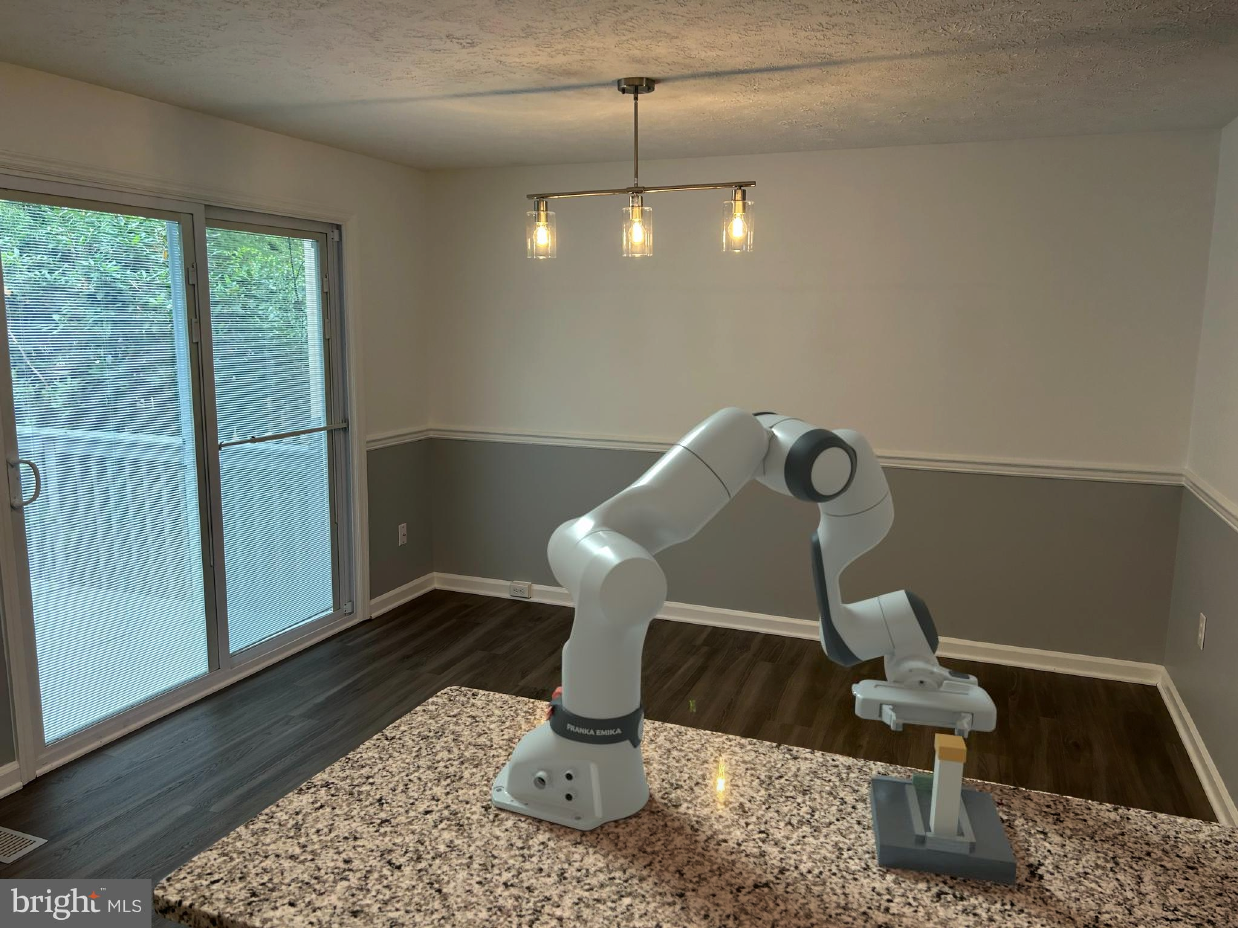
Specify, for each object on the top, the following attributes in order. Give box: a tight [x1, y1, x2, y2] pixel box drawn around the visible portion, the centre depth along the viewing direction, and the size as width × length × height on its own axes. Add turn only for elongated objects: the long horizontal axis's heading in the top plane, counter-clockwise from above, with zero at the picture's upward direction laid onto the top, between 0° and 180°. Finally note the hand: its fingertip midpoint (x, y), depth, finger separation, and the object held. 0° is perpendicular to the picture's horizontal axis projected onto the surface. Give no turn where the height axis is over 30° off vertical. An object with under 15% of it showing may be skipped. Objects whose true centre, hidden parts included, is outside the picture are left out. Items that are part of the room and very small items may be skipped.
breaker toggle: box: [930, 733, 968, 836], centre depth 110 cm, size 3×3×12 cm
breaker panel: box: [869, 772, 1018, 886], centre depth 115 cm, size 16×16×5 cm
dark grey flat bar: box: [874, 774, 978, 791], centre depth 125 cm, size 14×4×1 cm, turn 78°
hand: (929, 729), depth 125 cm, fingers open, 8 cm apart
